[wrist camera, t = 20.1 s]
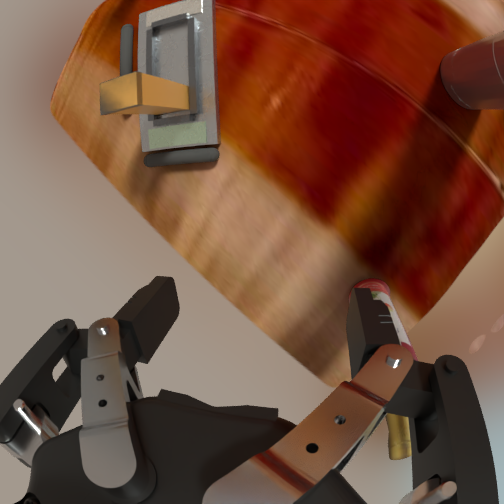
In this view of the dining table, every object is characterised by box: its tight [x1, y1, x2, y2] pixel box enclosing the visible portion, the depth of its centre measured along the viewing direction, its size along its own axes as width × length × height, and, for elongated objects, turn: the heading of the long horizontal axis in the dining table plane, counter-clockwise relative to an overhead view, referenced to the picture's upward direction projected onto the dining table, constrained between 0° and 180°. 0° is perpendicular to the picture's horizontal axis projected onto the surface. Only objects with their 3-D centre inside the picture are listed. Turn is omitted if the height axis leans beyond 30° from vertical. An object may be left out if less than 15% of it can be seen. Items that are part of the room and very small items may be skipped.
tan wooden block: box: [100, 71, 190, 115], centre depth 27 cm, size 4×5×13 cm
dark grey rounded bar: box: [144, 148, 219, 167], centre depth 37 cm, size 12×2×2 cm, turn 92°
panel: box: [138, 0, 221, 152], centre depth 31 cm, size 24×12×3 cm, turn 2°
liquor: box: [349, 278, 418, 460], centre depth 29 cm, size 7×7×28 cm
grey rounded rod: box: [120, 24, 133, 76], centre depth 32 cm, size 16×2×2 cm, turn 2°
